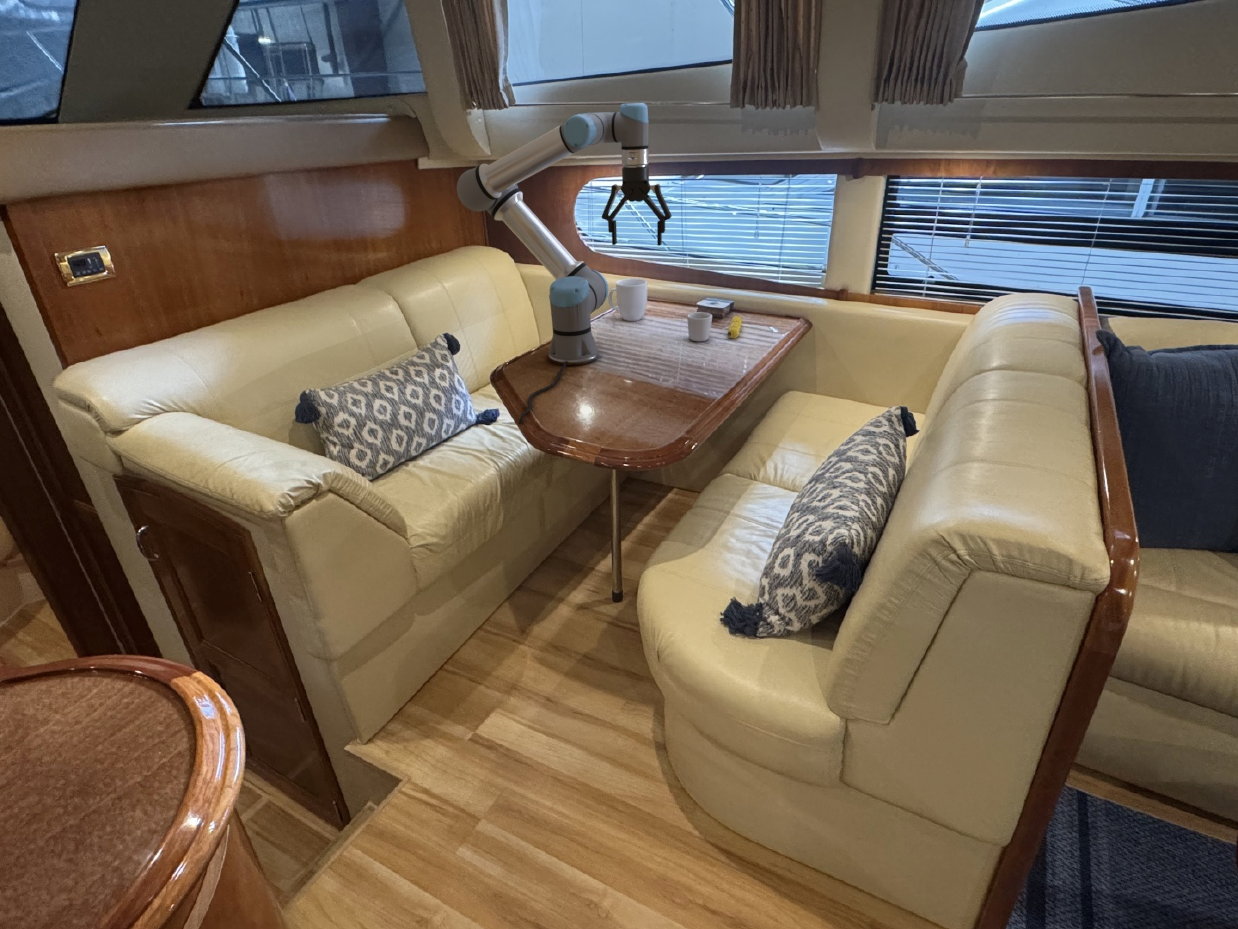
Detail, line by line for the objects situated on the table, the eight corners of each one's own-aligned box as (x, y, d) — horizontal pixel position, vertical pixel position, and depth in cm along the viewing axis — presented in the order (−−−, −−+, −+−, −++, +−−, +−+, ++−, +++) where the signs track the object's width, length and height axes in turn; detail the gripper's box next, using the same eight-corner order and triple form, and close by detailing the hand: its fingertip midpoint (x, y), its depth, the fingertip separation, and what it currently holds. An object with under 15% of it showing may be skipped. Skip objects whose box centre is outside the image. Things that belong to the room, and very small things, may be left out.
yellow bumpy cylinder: (738, 339, 214) (738, 329, 212) (726, 339, 215) (727, 328, 213) (742, 324, 228) (742, 314, 227) (731, 324, 229) (732, 313, 227)
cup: (696, 331, 223) (697, 308, 219) (718, 335, 219) (719, 311, 215) (682, 341, 215) (682, 316, 211) (705, 344, 211) (705, 320, 207)
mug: (602, 319, 239) (600, 283, 232) (616, 311, 247) (615, 276, 241) (639, 324, 233) (638, 286, 226) (652, 315, 241) (652, 279, 235)
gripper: (588, 167, 185) (592, 246, 195) (677, 166, 179) (676, 247, 190) (595, 165, 191) (599, 241, 202) (681, 163, 186) (680, 242, 196)
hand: (636, 244), depth 196 cm, fingers open, 13 cm apart
